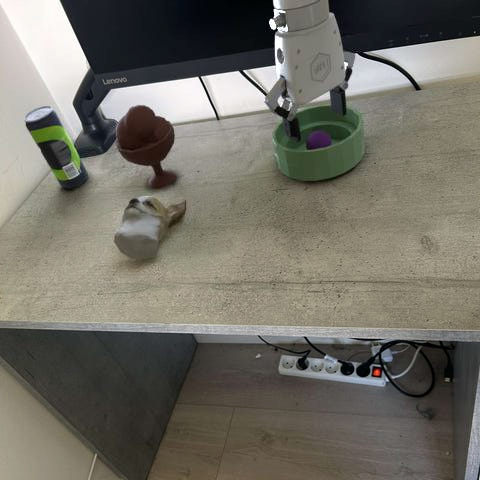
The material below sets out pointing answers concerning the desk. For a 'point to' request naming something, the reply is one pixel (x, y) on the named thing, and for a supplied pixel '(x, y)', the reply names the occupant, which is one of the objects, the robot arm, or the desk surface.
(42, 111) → the beverage can
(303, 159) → the green bowl
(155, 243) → the ceramic sculpture
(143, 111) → the ice cream bowl
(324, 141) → the ball
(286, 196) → the desk surface
